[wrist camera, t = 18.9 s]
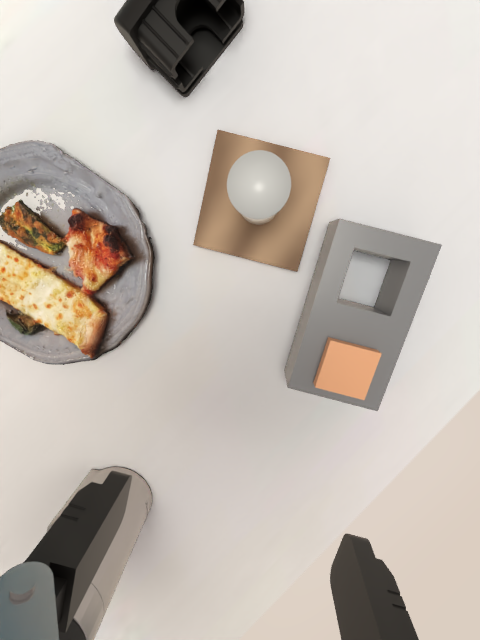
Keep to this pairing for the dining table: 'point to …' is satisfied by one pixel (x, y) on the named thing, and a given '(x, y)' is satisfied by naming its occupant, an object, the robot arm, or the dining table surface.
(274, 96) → the dining table surface
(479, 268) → the dining table surface
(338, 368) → the orange cube
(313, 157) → the walnut board
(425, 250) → the grey hollow block
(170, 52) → the end cap
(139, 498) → the robot arm
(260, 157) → the cylinder
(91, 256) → the food plate
